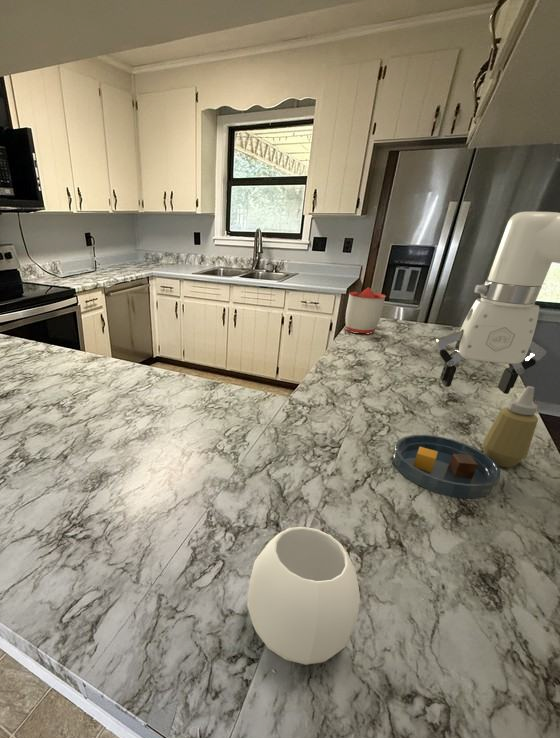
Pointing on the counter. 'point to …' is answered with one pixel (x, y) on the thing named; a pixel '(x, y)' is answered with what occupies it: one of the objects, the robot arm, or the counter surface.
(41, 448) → the counter surface
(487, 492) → the plate
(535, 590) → the counter surface
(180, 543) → the counter surface
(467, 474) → the walnut block
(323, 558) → the cup
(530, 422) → the squeeze bottle
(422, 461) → the mustard block
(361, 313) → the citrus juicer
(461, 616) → the counter surface
